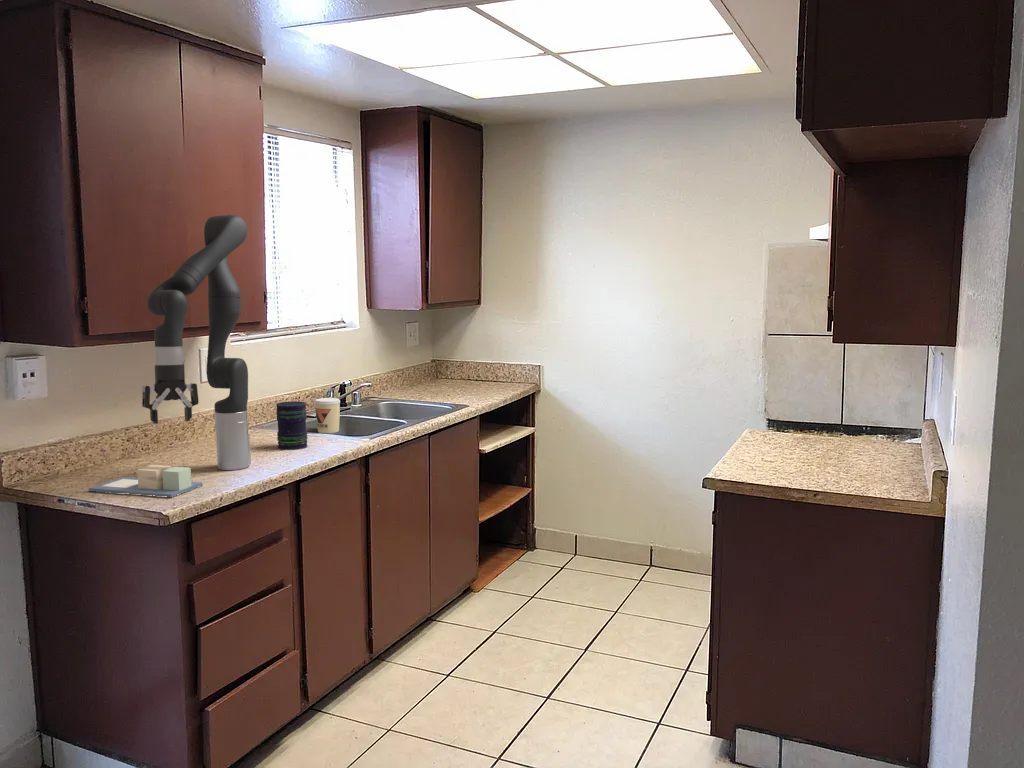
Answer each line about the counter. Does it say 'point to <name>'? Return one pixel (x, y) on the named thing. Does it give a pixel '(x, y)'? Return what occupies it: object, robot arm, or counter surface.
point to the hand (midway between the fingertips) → (171, 422)
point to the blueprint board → (131, 487)
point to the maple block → (151, 476)
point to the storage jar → (291, 425)
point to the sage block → (176, 478)
